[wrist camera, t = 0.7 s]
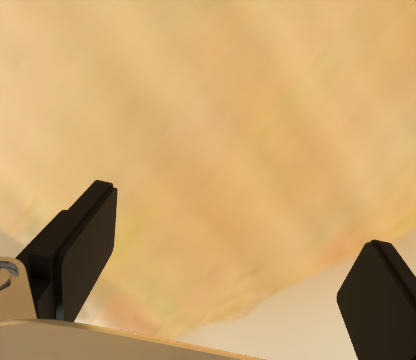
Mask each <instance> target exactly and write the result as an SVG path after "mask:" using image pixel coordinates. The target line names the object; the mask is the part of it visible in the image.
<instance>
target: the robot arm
mask: <svg viewBox="0 0 416 360" xmlns="http://www.w3.org/2000/svg"><path fill="white" fill-rule="evenodd" d="M116 206H117V188H113V184H112V183H109V182H104V181H100V180H96V181H94V182H93V184H92V185H91V186H90V187H89V188H88V189H87V190H86V191H85V192H84V193H83V194H82V195H81V196H80V197H79V199H78V200H77V201H76V202H75V203H74V204H73V205H72V206H71V207H70V208H69V209H68V210H62V211H61V212H59V213H58V214H57V215H56V216H55V218H54V219H53V220H52V221H51V222H50V223H49V224H48V225H47V226H46V227H45V228H44V229H43V230H42V231H41V232H40V233H39V234H38V235H37V236H36V237H35V238H34V239H33V240H32V241H31V242H30V243H29V244H28V245H27V246H26V248H25V249H24V250H23V251H22V252H21V253H20V254H19V255H18V256H17V257H16V258H11V257H0V360H265V359H259V358H254V357H250V356H245V355H240V354H236V353H231V352H226V351H221V350H216V349H211V348H206V347H201V346H197V345H191V344H187V343H181V342H177V341H172V340H167V339H162V338H157V337H152V336H147V335H142V334H137V333H132V332H127V331H121V330H116V329H110V328H105V327H100V326H94V325H89V324H83V323H76V322H74V321H75V319H76V317H77V315H78V313H79V312H80V310H81V308H82V306H83V304H84V303H85V301H86V299H87V297H88V295H89V294H90V292H91V290H92V288H93V286H94V285H95V283H96V281H97V279H98V277H99V276H100V274H101V272H102V270H103V268H104V267H105V265H106V263H107V261H108V259H109V258H110V256H111V254H112V251H113V248H114V237H115V222H116ZM337 303H338V306H339V309H340V311H341V314H342V317H343V319H344V322H345V325H346V328H347V331H348V333H349V336H350V339H351V342H352V344H353V347H354V350H355V352H356V355H357V358H358V360H416V277H415V275H414V274H413V273H412V271H411V270H410V268H409V267H408V266H407V264H406V263H405V262H404V260H403V259H402V257H401V256H400V255H399V253H398V252H397V250H396V249H395V248H394V246H393V245H392V244H391V243H388V242H383V241H379V240H372V241H370V243H369V242H368V243H366V244H365V245H364V247H363V249H362V250H361V252H360V254H359V256H358V257H357V259H356V261H355V263H354V265H353V266H352V268H351V270H350V272H349V273H348V275H347V277H346V279H345V280H344V282H343V284H342V286H341V288H340V289H339V291H338V293H337Z"/></svg>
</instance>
